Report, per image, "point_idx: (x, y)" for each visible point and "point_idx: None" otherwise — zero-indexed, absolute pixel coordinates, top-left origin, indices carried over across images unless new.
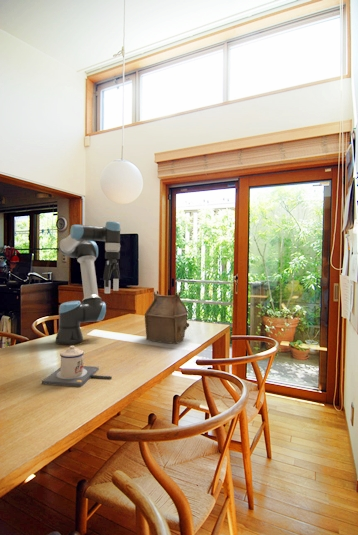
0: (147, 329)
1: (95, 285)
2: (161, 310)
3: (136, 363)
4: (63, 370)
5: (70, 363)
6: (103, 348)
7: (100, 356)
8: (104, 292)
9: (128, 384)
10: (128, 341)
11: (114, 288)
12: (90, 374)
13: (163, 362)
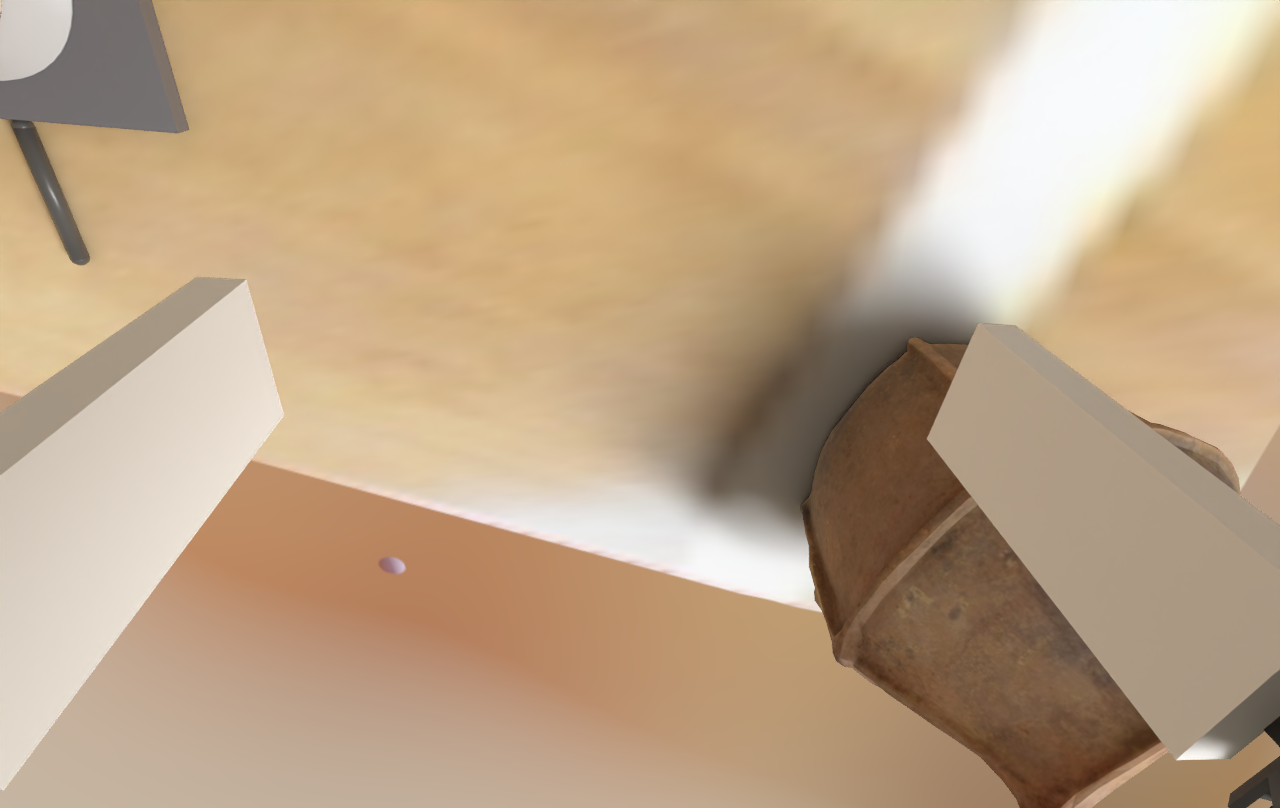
0: (944, 384)
1: None
2: (958, 607)
3: (397, 348)
4: None
5: None
6: (700, 12)
7: (473, 52)
8: (182, 287)
9: None
10: (905, 200)
11: (997, 390)
12: (10, 117)
13: (456, 474)
